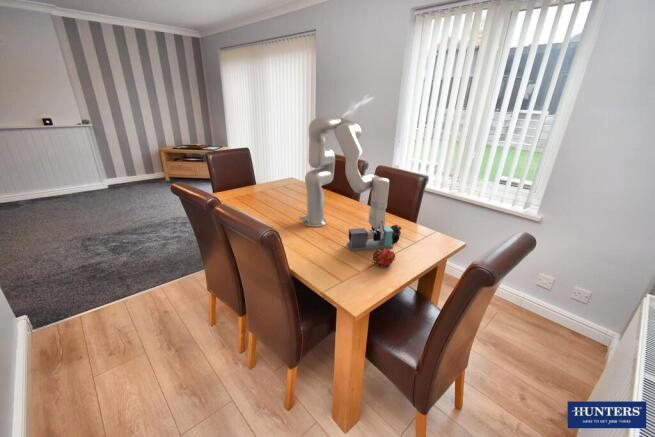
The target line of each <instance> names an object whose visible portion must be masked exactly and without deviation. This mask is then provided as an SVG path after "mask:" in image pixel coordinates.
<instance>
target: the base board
mask: <svg viewBox="0 0 655 437" xmlns="http://www.w3.org/2000/svg"><path fill="white" fill-rule="evenodd" d="M346 243H347V246H348V248H349V250H350V251H351V253H355V252H356V253H357V252H366V251H376V250H377V249H379V250H381V248H384V250H385V249H389V250H391V249H392V250H393V247H394V245H392V246H384V245H383V243H382V242H381V241H374V239H369V240H367V242H366V247H362V248H352V247H351V246H350V244H349V241H347V242H346Z"/></svg>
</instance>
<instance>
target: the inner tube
mask: <svg viewBox="0 0 655 437" xmlns="http://www.w3.org/2000/svg"><path fill="white" fill-rule="evenodd" d="M366 230H367V229H366ZM378 230H379V229H377V231H378ZM367 232H368V240H374V233H375V230H372V229H368V230H367ZM382 238H385V231H384V230H383V232H382V233H381V237H380V239H382Z"/></svg>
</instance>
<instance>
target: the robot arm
mask: <svg viewBox="0 0 655 437" xmlns="http://www.w3.org/2000/svg"><path fill="white" fill-rule="evenodd" d="M325 135H334V136H335V139H336V141H337V142H338V145H339V148H340V150H341V152H342V154H343V156H344V158H345V170H344V171H345V177H346V179H347V181H348V183H349V186H350V188H351V189H352V191H354V193H356V194H363V193H365V192H368V191H371V197H370V209H369V213H368V214H369V215H368V223H369V224H370V230H375V233H374V239H373V240H374V241H380V237H381V233H382V232H383V228H384V226H386V209H387V208H388V197H389V191H390V190H389V188H390V179H389V178H386V177H381V176H378V175H376V174H373V173H367V174H363V175H361V173H360V171H359V168H358V161H359V159H360V157H361V156H362V155H363V149H362V147H361V145H360V144H359V139H360V138H361V135H362V129H361V127H360V125H359V124H358V123H356V122H354V121H352V120H349V119H347V118H344V117H341V116H336V115H333V116H328V115H327V116H319V117H316V118H314V119H313V120H311V121H310V123H309V126H308V140H309V141H308V142H309V143H308V164H309V166H310V167H311V168H314V169H312V170H309V171H307V173H306V174H305V176H304V182H305V187H306V203H307V204H306V208H307V210H306V212H307V213H306V215H304V216H298V217H299V221H302V222H304V224H305V225H306V226H308V227H311V228H319V227H323V226H325V225H326V224H327V219H326V218H324V214H325V212H324V211H325V204H324V203H325V193H324V190H323V188H322V186H324V185H328V184H330V183H332V181H333V180H334V176H335V166H336V155H335V153H334V151H333V149H331V148H329V147H326V138H325ZM377 229H379V230H378V231H377Z"/></svg>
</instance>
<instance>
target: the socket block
mask: <svg viewBox="0 0 655 437" xmlns="http://www.w3.org/2000/svg"><path fill="white" fill-rule="evenodd" d="M390 227H391V226H390V225H385V226H384V228H383V230H384V231H385V238H382V239H380V241H381V242H382V243H383V245H384V246H393V243H392V233H393V232H394V231H393V230H392V229H391V228H390Z"/></svg>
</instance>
